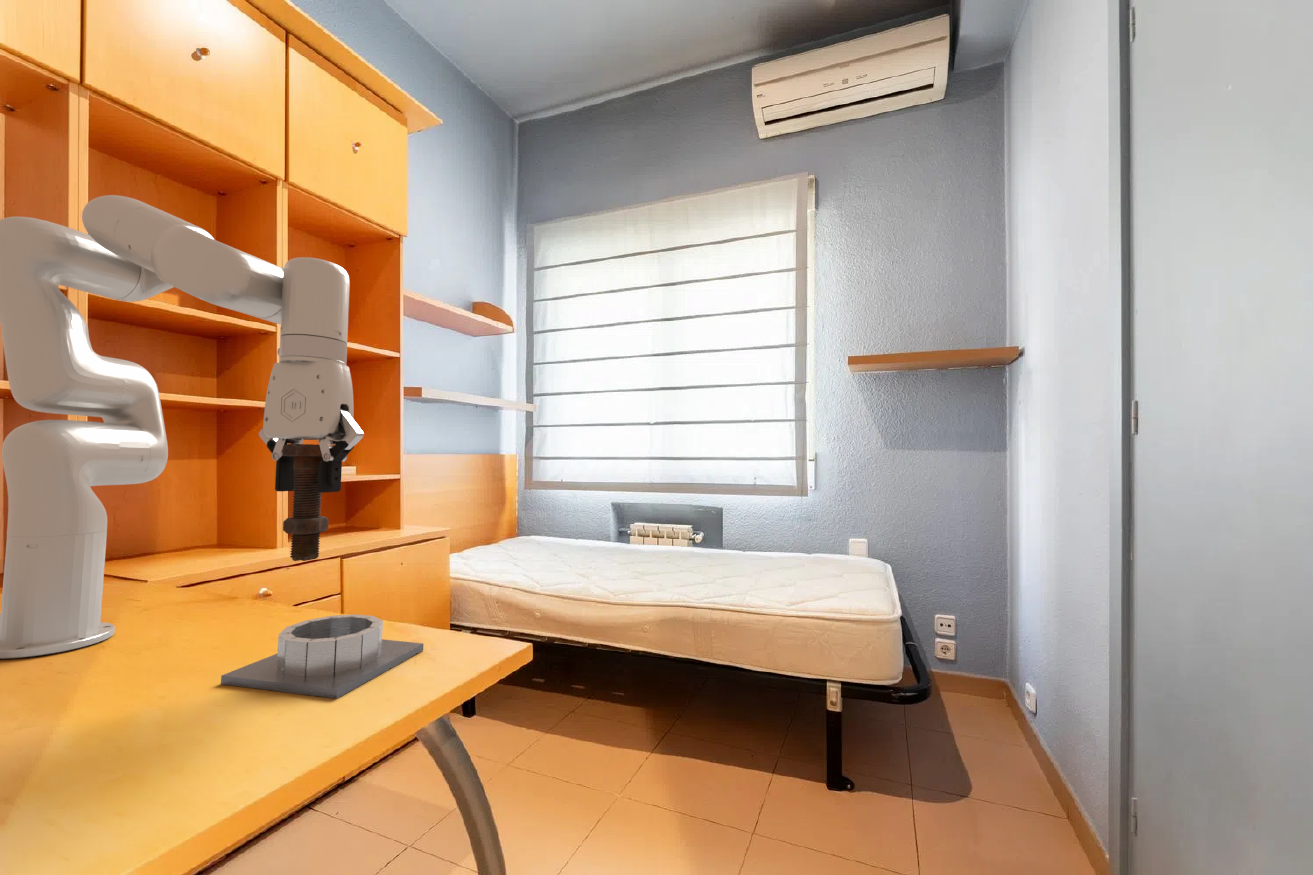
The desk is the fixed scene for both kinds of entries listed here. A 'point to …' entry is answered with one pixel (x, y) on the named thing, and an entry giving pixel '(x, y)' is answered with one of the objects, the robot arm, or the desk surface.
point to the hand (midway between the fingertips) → (308, 490)
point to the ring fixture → (325, 657)
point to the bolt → (305, 502)
